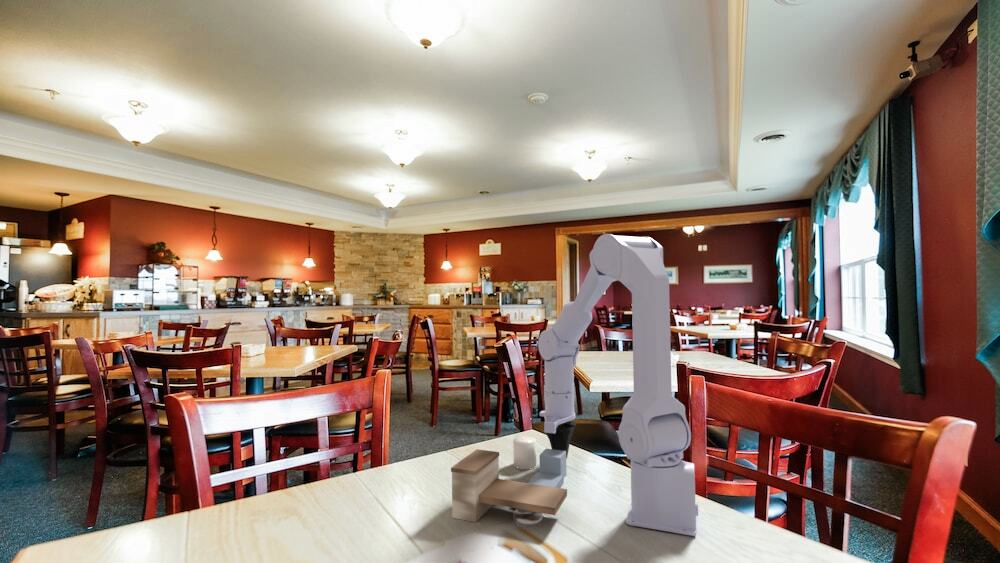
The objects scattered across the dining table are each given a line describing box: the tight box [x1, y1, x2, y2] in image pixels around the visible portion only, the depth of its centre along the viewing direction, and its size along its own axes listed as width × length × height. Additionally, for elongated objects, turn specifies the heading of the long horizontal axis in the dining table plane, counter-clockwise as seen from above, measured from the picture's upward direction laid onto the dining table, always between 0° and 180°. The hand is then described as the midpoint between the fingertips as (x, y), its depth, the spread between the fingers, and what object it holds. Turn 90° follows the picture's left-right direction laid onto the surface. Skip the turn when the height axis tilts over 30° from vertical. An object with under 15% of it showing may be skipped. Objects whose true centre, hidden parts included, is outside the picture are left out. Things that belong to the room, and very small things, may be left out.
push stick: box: [527, 448, 567, 488], centre depth 81 cm, size 5×16×4 cm, turn 157°
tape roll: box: [513, 508, 544, 528], centre depth 70 cm, size 4×4×1 cm
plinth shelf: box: [450, 449, 568, 523], centre depth 72 cm, size 16×9×8 cm, turn 67°
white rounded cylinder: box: [512, 436, 538, 470], centre depth 93 cm, size 5×5×5 cm
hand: (560, 460), depth 91 cm, fingers closed
